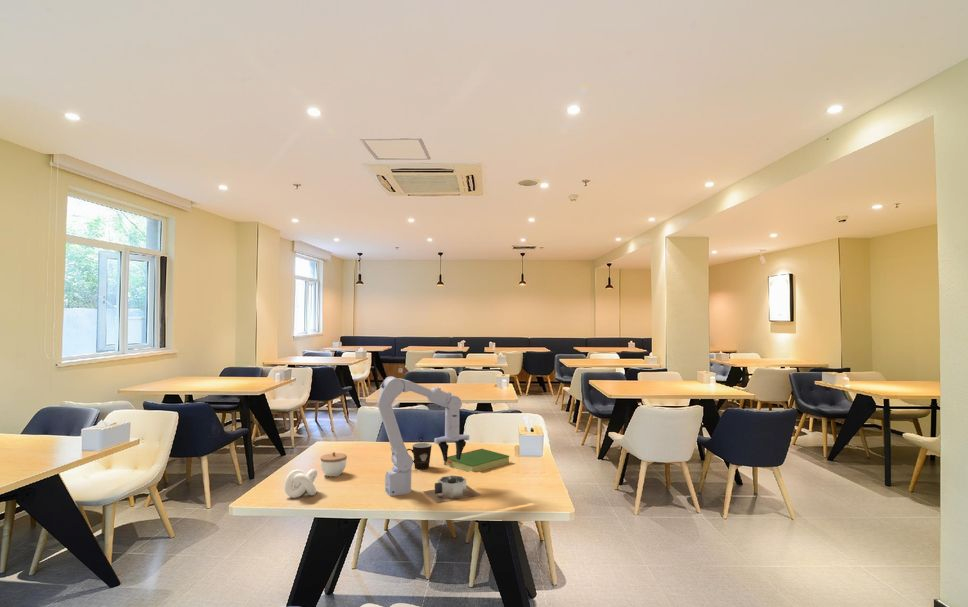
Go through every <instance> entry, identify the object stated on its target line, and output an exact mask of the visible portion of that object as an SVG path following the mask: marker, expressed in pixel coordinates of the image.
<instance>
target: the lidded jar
mask: <svg viewBox="0 0 968 607" xmlns="http://www.w3.org/2000/svg"><path fill="white" fill-rule="evenodd" d="M347 457H348V456H347V454H346V453H342V452H341V453H340V452H335V451H334V452H332V453H326V454H323V455H322V456H320V467H321V471H322V473H323V474H324V475H325V476H326V477H328V476H330V477H329V478H332V477H331V476H335V477H339V476H340V474H342V473H343V472H344V470H345V469H346V465H347Z"/></svg>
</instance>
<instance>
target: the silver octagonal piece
mask: <svg viewBox="0 0 968 607" xmlns="http://www.w3.org/2000/svg"><path fill="white" fill-rule="evenodd" d="M449 477H456V483H454V484H451V483H448V478H449ZM466 485H467V478H465V477H463V476H461V475H451V474H450V475H446V476H441V477H440V478H439V479H438V480H437V482H435V483H434V490H435V494H439V495H440V496H441V497H446V498H457V497H462V496H464V495H465V494H466Z"/></svg>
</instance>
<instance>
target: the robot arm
mask: <svg viewBox="0 0 968 607" xmlns="http://www.w3.org/2000/svg"><path fill="white" fill-rule="evenodd" d="M379 388H380V390H379V393H378V396H377V397H378V398H377V401H376V404H377V407H378V409H379V410H378V411H379V413H380V417H381V420H382V423H383V426H384V428H385V432H386V436H387V438H388V441H389V445H390V450H391V462H392V463H393V466H392V469H391V470H388V471H386V473H385V479H384V482H385V483H384V493H385V494H386V495H387V496H388V497H392V496H393V497H394V496H398V495H399V496H401V495H402V496H403V495H407V494H410V493H412V467H413V464H414V462H413V461H414V458H413V456H411V455H410V454H409V451H407V449H408V448H407V447H406V446H405V443H404V440H403V437H402V434H401V431H400V428H399V424H398V421H397V419H396V415H395V412H394V409H393V406H392V405H393V403H394V402H395V401H396V398H398V397H399V396H400V395H401V394H402V393H408V392H412V393H415V394H418V395H421V396H423V397H426V398H427V399H428V402H430V403H433V404H435V405H437V406H440V407H444V408H445V411H444V412H445V414H444V435H442V436H440V437H434V441H433V442H434V444H436V445H438V447H439V449H440V451H441V455H442V460H443V461H445V462H447V457H448V453H449V451H448V450H449V444H448V443H451V442H453V443H454V442H455V455H456V459H458V460H460V458H461V454H462V453H463V450H464V448H465V446H466V443H467V441H470V434H467V433H466V434H460V410H461V408H462V406H463V403H462V400H461V398H460V397H459V396H457V395H454V394H452V392H450V391H444V390H442V389H441V388H440V387H439V386H437V387H433V388H427V387H425V386H423V385H420V384H418V383H416V382H414V381H411V380H407V379H404V378H399V377H398V378H397V377H395V376H390V375H389V376H387V377H385V379H383V381H382V383H381V384H380V387H379Z"/></svg>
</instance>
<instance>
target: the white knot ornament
mask: <svg viewBox="0 0 968 607" xmlns="http://www.w3.org/2000/svg"><path fill="white" fill-rule="evenodd" d="M317 477H318V470H317V469H316V468H312V469H310V470H308V471H307V472H305V471H304V470H302V469H298V468H297V469H293V470H291V471H289V473H288V474H287V476H286V478H285V480H284V486H283V487H284V493H285V494H286V495H287V496H288V497H289V498H292V499H296V498H297V499H298V498H299V497H301V496H302V495H304V493H305V492H306V493H307V494H308V495H309V496H314V495H316V493H317V488H316V486H315V485H314V481H315V480H316V478H317Z"/></svg>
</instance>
